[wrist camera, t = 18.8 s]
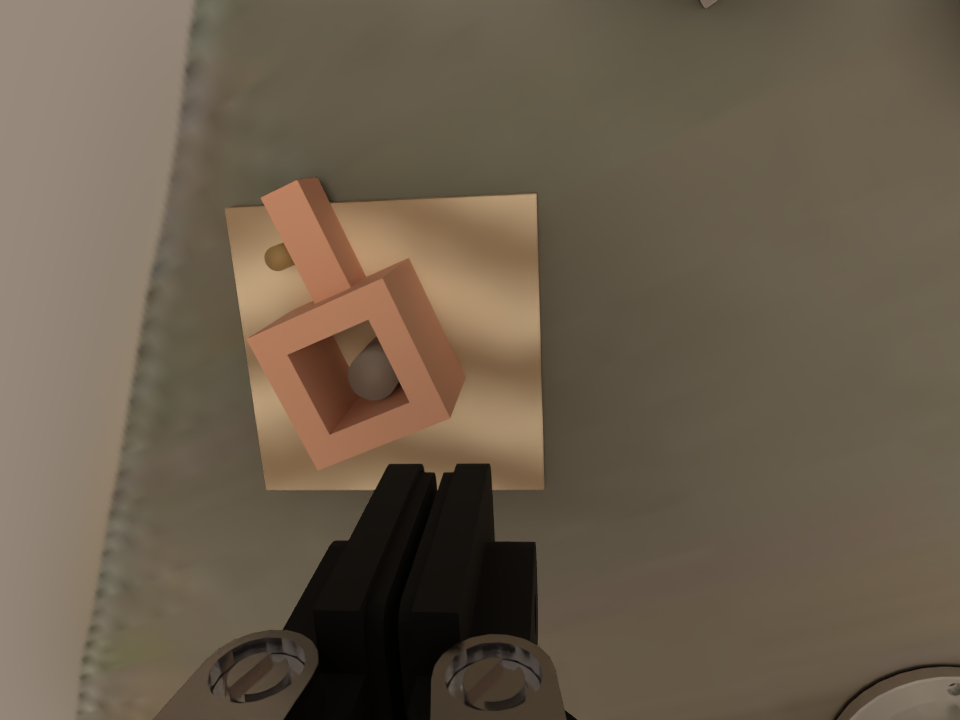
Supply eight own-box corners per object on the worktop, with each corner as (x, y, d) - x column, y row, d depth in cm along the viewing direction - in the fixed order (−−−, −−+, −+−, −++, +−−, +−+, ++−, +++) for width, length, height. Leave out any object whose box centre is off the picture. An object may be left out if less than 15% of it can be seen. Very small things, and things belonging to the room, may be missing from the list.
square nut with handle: (465, 377, 38) (450, 418, 33) (351, 424, 40) (317, 470, 34) (360, 155, 36) (324, 157, 30) (242, 214, 37) (185, 226, 31)
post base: (544, 480, 41) (543, 526, 36) (273, 480, 43) (237, 524, 38) (536, 192, 36) (534, 199, 31) (234, 206, 38) (187, 215, 33)
